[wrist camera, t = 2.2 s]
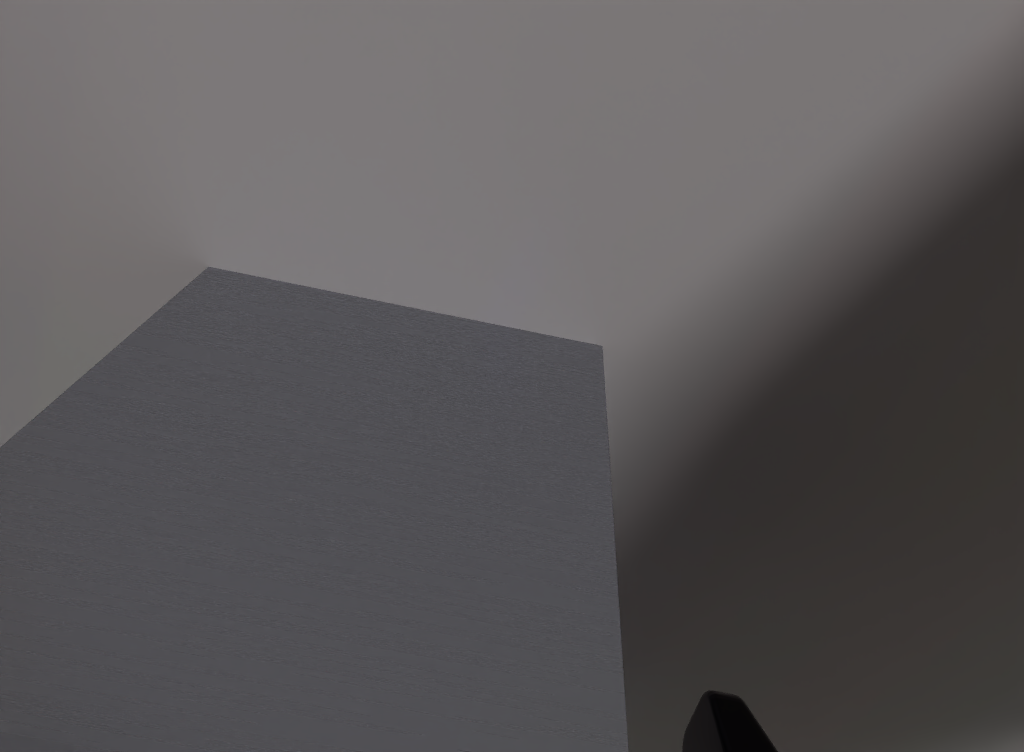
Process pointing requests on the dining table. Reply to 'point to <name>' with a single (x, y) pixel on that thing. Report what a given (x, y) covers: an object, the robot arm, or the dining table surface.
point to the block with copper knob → (313, 537)
